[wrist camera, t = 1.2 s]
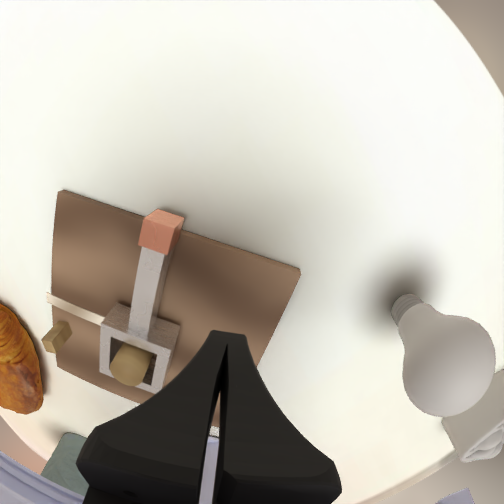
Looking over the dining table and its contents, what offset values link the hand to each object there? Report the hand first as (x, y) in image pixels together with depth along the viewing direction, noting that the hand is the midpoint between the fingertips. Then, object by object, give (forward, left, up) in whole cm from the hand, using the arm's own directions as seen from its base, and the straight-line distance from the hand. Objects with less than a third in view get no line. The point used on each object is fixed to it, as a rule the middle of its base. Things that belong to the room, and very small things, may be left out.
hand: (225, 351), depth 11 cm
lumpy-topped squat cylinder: (-9, -37, -10) cm, 39 cm away
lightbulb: (+1, -13, -9) cm, 16 cm away
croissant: (-20, +23, -10) cm, 32 cm away
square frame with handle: (-4, +5, -8) cm, 10 cm away
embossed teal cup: (-37, +12, -9) cm, 40 cm away
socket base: (-8, +5, -9) cm, 13 cm away
